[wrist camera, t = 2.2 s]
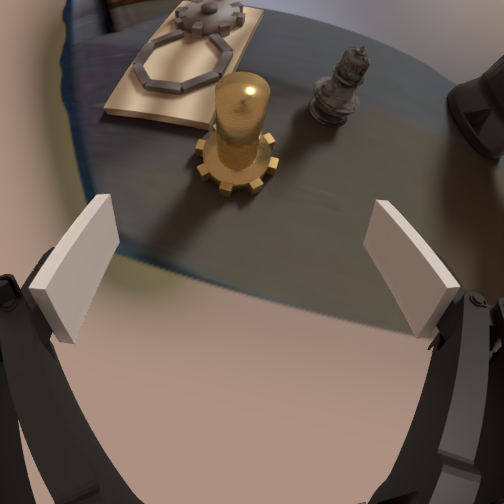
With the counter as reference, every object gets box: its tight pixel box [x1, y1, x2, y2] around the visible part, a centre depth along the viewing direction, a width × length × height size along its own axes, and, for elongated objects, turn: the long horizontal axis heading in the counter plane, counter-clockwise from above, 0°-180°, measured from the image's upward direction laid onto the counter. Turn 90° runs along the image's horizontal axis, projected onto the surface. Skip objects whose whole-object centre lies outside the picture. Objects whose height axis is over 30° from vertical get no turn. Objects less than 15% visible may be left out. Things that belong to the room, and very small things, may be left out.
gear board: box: [104, 0, 264, 131], centre depth 30 cm, size 14×26×4 cm, turn 165°
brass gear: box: [195, 72, 279, 197], centre depth 24 cm, size 9×9×12 cm
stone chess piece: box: [309, 46, 371, 127], centre depth 26 cm, size 6×6×12 cm
